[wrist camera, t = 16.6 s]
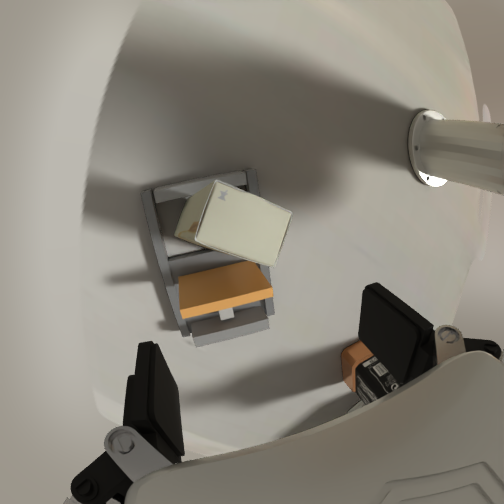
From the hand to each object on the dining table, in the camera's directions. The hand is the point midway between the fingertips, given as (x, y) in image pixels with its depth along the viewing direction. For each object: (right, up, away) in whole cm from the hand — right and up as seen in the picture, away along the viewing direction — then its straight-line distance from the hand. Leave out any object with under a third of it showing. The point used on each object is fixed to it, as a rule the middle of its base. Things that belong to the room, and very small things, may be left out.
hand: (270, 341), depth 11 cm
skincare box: (-6, +7, +18) cm, 20 cm away
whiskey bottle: (+20, -15, +34) cm, 43 cm away
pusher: (-4, -1, +20) cm, 21 cm away
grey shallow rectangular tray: (-5, +3, +20) cm, 21 cm away
